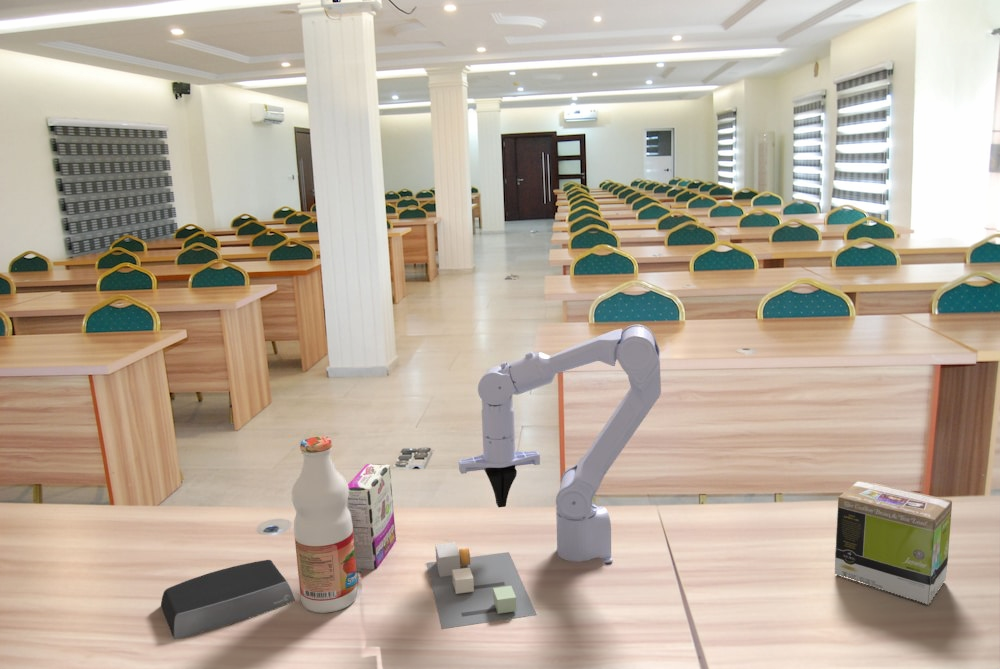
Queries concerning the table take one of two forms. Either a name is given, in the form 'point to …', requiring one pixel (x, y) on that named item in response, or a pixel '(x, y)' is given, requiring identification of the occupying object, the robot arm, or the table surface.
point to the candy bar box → (372, 515)
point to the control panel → (475, 588)
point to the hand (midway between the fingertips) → (501, 504)
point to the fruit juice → (323, 531)
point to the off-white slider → (463, 580)
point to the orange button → (464, 556)
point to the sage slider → (504, 599)
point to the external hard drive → (224, 597)
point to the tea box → (893, 539)
